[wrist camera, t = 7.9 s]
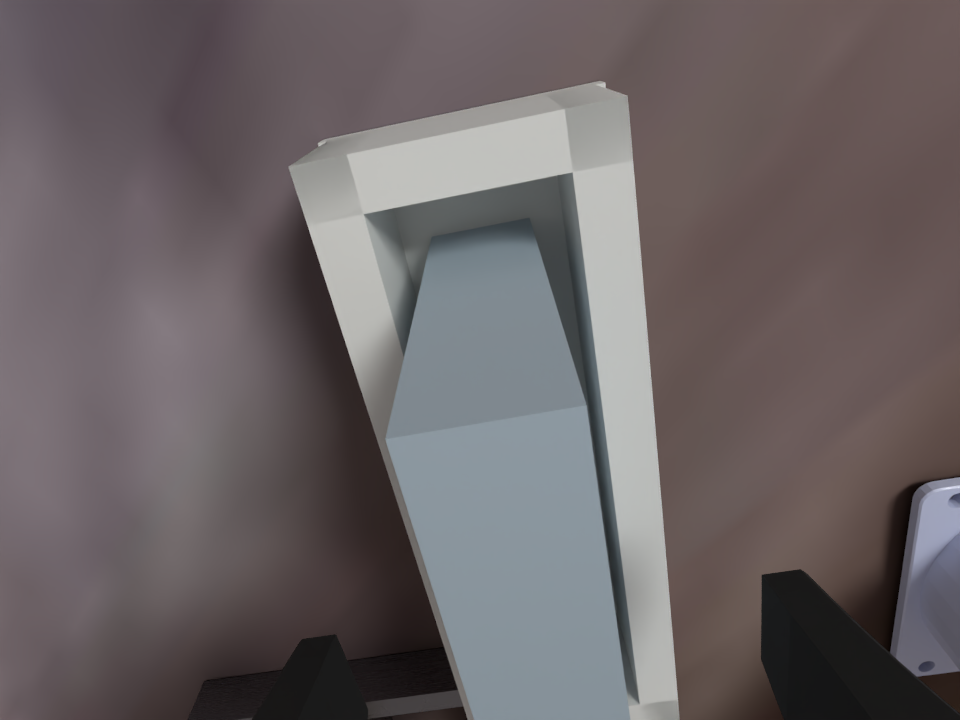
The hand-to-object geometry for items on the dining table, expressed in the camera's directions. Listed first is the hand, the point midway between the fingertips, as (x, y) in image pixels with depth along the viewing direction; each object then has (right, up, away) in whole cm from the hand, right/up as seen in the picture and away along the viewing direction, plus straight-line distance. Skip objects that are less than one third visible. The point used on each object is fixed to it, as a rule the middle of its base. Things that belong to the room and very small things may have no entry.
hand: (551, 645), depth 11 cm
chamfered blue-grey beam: (0, +3, +6) cm, 6 cm away
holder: (0, +3, +6) cm, 7 cm away
